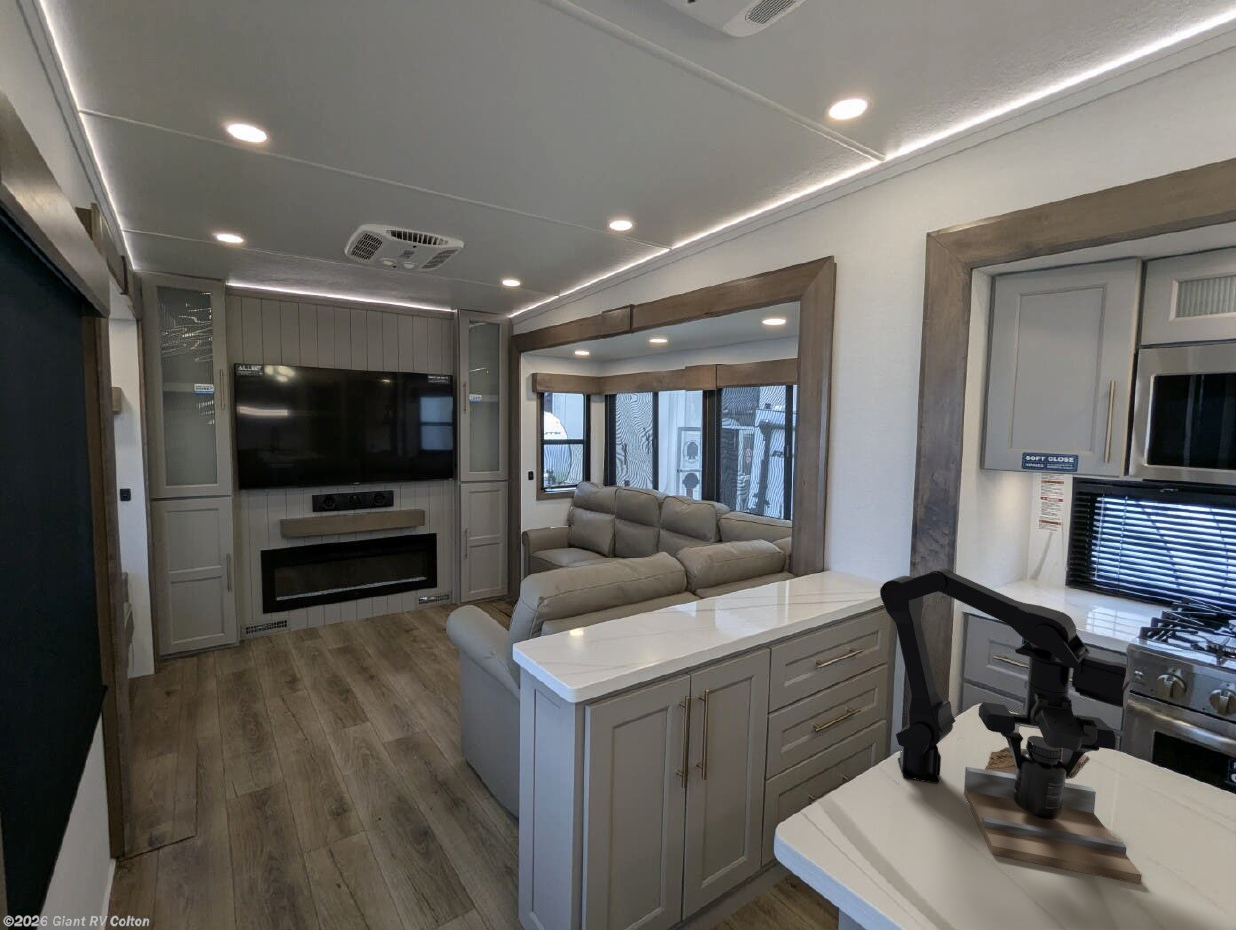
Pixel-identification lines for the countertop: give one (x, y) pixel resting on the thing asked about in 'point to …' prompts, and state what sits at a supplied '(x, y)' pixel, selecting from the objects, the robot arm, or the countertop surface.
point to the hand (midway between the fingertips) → (1041, 771)
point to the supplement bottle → (1040, 780)
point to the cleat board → (1046, 828)
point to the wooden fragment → (1005, 762)
